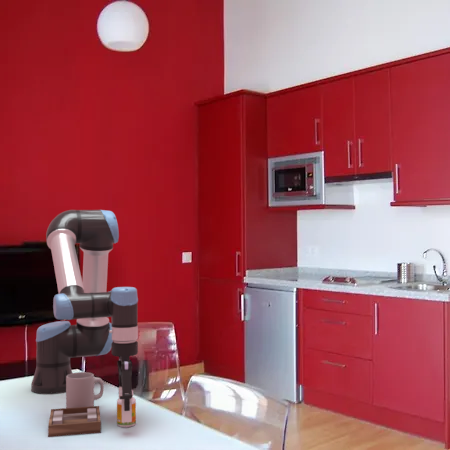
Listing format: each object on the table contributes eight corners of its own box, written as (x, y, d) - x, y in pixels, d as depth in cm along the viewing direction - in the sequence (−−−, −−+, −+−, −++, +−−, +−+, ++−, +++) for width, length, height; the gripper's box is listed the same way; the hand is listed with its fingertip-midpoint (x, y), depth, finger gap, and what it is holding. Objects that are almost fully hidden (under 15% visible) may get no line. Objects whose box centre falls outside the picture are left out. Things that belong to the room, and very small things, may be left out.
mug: (71, 416, 183) (71, 379, 183) (62, 409, 190) (62, 374, 190) (108, 409, 190) (108, 374, 190) (98, 403, 197) (98, 369, 197)
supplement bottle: (120, 428, 171) (120, 394, 171) (114, 423, 176) (114, 390, 176) (138, 425, 173) (138, 391, 173) (132, 420, 178) (132, 387, 178)
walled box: (51, 419, 180) (51, 408, 180) (99, 415, 183) (99, 404, 183) (48, 436, 164) (48, 424, 164) (100, 432, 167) (100, 420, 167)
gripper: (109, 334, 186) (109, 404, 185) (113, 349, 161) (114, 429, 161) (134, 333, 187) (134, 402, 187) (141, 347, 163) (142, 427, 163)
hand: (125, 415), depth 174 cm, fingers open, 13 cm apart
